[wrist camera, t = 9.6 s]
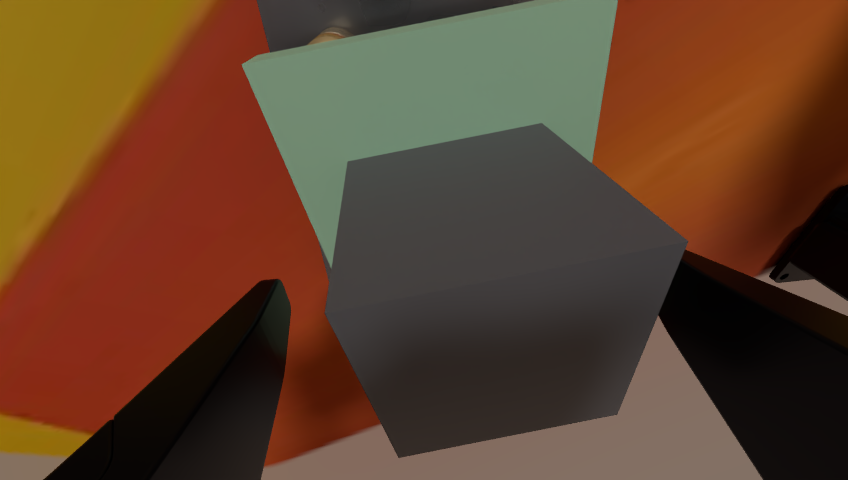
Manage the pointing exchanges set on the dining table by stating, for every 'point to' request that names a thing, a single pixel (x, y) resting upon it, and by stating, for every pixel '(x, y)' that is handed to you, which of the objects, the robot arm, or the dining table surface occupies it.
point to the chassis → (354, 21)
